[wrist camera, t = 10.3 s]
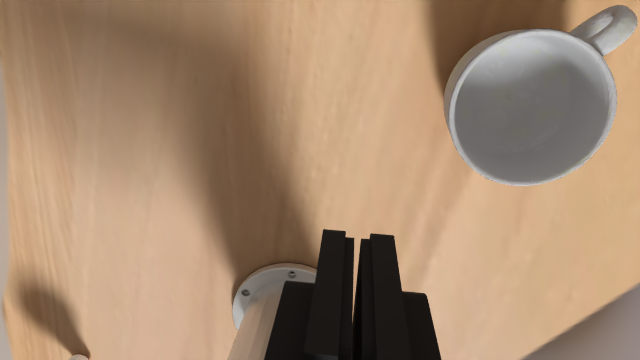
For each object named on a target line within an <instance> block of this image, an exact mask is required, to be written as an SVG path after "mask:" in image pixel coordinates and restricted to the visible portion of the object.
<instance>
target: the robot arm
mask: <svg viewBox="0 0 640 360" xmlns="http://www.w3.org/2000/svg"><path fill="white" fill-rule="evenodd" d="M345 235H346V231H337V230H325V229H323V235H322V241H321V247H320V253H319V259H318V266H317V270H316V269H314V268H312V267H308V266H305V265H302V264H294V263H278V264H273V265H268V266H266V267H263V268H261V269H258V270H257V271H255V272H253V273H252V274H250V275H249V276H248V277H247V278H246V279H245V280H244V281H243V282H242V284H241V285H240V287H239V289H238V290H237V293H236V295H235V298H234V301H233V306H232V317H233V321H234V324H235V327H236V329H237V331H238V332H237V335H236V338H235V340H234V343H233V346H232V348H231V351H230V354H229V357H228V359H227V360H441V356H440V352H439V347H438V343H437V338H436V334H435V330H434V325H433V321H432V316H431V312H430V308H429V303H428V299H427V296H426V294H425V293H415V292H404V291H402V288H401V281H400V274H399V268H398V261H397V254H396V247H395V240H394V236H393V235H383V234H370V239H361V245H360V254H359V264H358V274H357V284H356V294H355V304H354V314H353V323H352V311H353V269H354V238H348V237H345Z"/></svg>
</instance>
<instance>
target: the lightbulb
mask: <svg viewBox="0 0 640 360" xmlns="http://www.w3.org/2000/svg"><path fill="white" fill-rule="evenodd" d="M69 360H88V358H87V357H86V356H84V355H80V354H77V355H73V356H72V357H71V358H70V359H69Z"/></svg>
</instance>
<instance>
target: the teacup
mask: <svg viewBox="0 0 640 360" xmlns="http://www.w3.org/2000/svg"><path fill="white" fill-rule="evenodd" d="M636 27H637V17H636V15H635V14H634V12H633V11H632V10H631V9H629V8H628V7H626V6H623V5H616V6H612V7H609V8H607V9H605V10H603V11H601V12H599V13H597V14H596V15H594V16H592V17H591V18H589V19H588V20H586V21H585V22H583V23H582V24H580V25H579V26H578V27H576V28H575V29H573V30H572V31H571V32H569V33H567V32H563V31H560V30H555V29H526V30H513V31H507V32H503V33H499V34H496V35H494V36H491V37H489V38H487V39H485V40H483V41H481V42H480V43H478V44H477V45H475V46H474V47H473V48H471V49H470V50H469V51H468V52H467V53H466V54H465V55H464V56H463V57H462V58H461V59H460V60H459V62H458V63H457V64H456V66H455V67H454V69H453V71H452V73H451V75H450V77H449V79H448V82H447V85H446V89H445V93H444V115H445V119H446V123H447V126H448V129H449V131H450V134H451V137H452V140H453V142H454V145H455V147H456V149H457V151H458V152H459V154H460V156H461V157H462V158H463V160H464V161H465V162H466V163H467V164H468V165H469V166H470V167H471V168H472V169H473V170H475V171H476V172H477V173H479V174H480V175H482V176H484V177H485V178H487V179H490V180H492V181H495V182H497V183H502V184H507V185H513V186H530V185H538V184H543V183H547V182H550V181H553V180H556V179H559V178H561V177H563V176H565V175H567V174H569V173H571V172H572V171H574V170H576V169H577V168H579V167H580V166H582V165H583V164H584V163H585V162H586V161H587V160H588V159H590V158H591V156H592V155H593V154H594V153H595V152H596V150H597V149H598V148H599V147H600V146H601V145H602V143H603V142H604V140H605V139H606V137H607V135H608V133H609V132H610V129H611V127H612V123H613V120H614V117H615V113H616V107H617V91H616V85H615V82H614V78H613V76H612V73H611V71H610V69H609V67H608V65H607V63H606V62H605V60H604V58H603V56H604V55H606V54H607V53H609V52H611V51H612V50H614V49H615V48H617V47H618V46H620V45H621V44H622V43H623V42H624V41H626V40H627V39H628V38H629V37H630V36H631V35H632V33H633V32H634V30H635V29H636Z"/></svg>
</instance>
